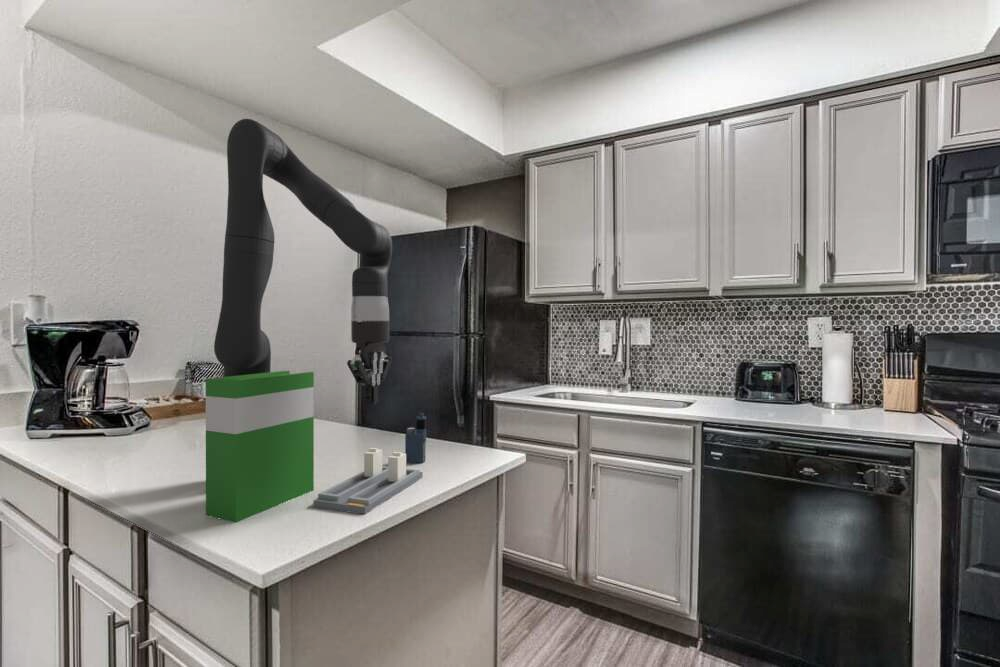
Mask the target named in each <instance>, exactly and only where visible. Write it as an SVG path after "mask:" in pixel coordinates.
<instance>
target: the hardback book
mask: <svg viewBox="0 0 1000 667" xmlns="http://www.w3.org/2000/svg"><path fill="white" fill-rule="evenodd" d="M314 373H315V372H314V371H306V372H298V373H290V370H280V371H279V370H278V371H270V372H268V373H259V374H249V375H239V376H229V377H224V376H222V377H221V376H220V377H219V376H218V377H213V378H212V377H211V378H205V516H206V515H207V516H206V517H209V516H212V517H211V518H213V517H216V518H215V519H218V518H220V519H219V520H222V519H223V520H222V521H226V520H227V522H232V523H238V522H241V521H244V520H245V519H248V518H250V517H253V516H256V515H257V514H260V513H262V512H266V511H267V510H270V509H273V508H274V507H278V506H279V504H280V505H282V504H284V502H285V503H287V502H289V501H291V499H292V500H293V498H294V499H296V497H297V498H299V497H302V496H303V494H304V495H306V494H309V493H311V492H313V490H314V489H315V488H314V485H315V483H314V482H315V481H314V480H315V479H314V478H315V477H314V476H315V475H314V469H315V468H314V467H315V466H314V464H315V463H314V461H315V460H314V452H315V450H314V447H315V446H314V444H315V443H314V442H315V441H314V438H315V437H314V434H315V433H314V428H315V427H314V422H315V421H314V420H315V419H314V418H315V416H314V415H315V414H314V412H315V411H314V410H315V408H314V405H315V404H314V399H315V398H314V394H315V393H314V392H315V391H314V390H315V387H314V386H315V384H314V383H315V381H314V379H315V378H314V377H315V376H314V375H315V374H314ZM310 491H311V492H310ZM314 491H315V490H314ZM308 492H309V493H308ZM305 493H306V494H305ZM298 496H299V497H298ZM288 500H289V501H288ZM286 501H287V502H286ZM281 503H282V504H281ZM272 507H273V508H272Z"/></svg>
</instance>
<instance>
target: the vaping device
mask: <svg viewBox="0 0 1000 667" xmlns="http://www.w3.org/2000/svg"><path fill="white" fill-rule="evenodd" d="M415 418H416V419H415V420H416V423H415V425H416V427H407V429H406V430H407V431H406V433H405V436H404V437H405V441H404V442H405V444H404V445H405V446H404V447H405V452H404V454H406V463H411V464H412V463H414V464H424V463H425V462H426V442H427V416H425V415H424V412H419V413H418V415H417V416H416V417H415Z"/></svg>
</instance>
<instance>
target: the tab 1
mask: <svg viewBox="0 0 1000 667" xmlns="http://www.w3.org/2000/svg"><path fill="white" fill-rule="evenodd" d="M363 457H364V458H363V459H364V460H363V462H364V463H363V472H364V476H365V477H372V476H374V475H376V474H378V473H380V472H382V466H383V449H380V448H379V449H378V447H377V448H376V447H369V448H368V450H367V451H365V452H364V454H363Z"/></svg>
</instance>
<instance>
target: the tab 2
mask: <svg viewBox="0 0 1000 667" xmlns="http://www.w3.org/2000/svg"><path fill="white" fill-rule="evenodd" d="M387 459H388V460H387V462H388V463H387V467H388V481H390V482H397V481H398V480H400V479H402V478H403V477H405V476H406V469H407V462H406V454H405V452H404V453H403V452H400V451H393V452H392V455H390V456H388V458H387Z"/></svg>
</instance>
